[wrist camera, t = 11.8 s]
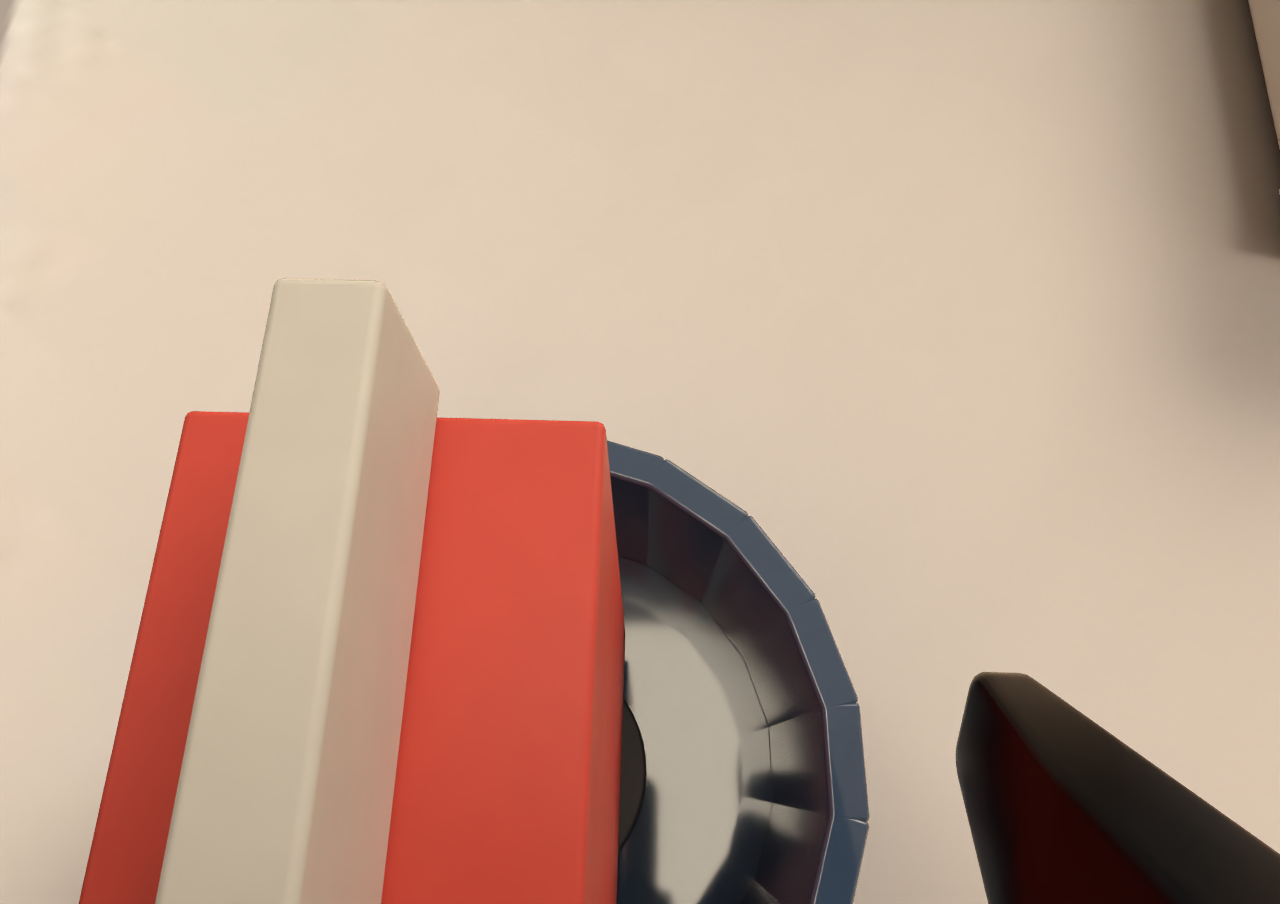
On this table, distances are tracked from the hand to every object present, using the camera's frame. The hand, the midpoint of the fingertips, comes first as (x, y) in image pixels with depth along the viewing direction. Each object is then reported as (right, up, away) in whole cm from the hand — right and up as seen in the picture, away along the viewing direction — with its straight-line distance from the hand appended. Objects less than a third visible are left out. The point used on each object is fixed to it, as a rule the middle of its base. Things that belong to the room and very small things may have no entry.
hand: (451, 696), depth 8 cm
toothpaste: (0, -4, +8) cm, 9 cm away
